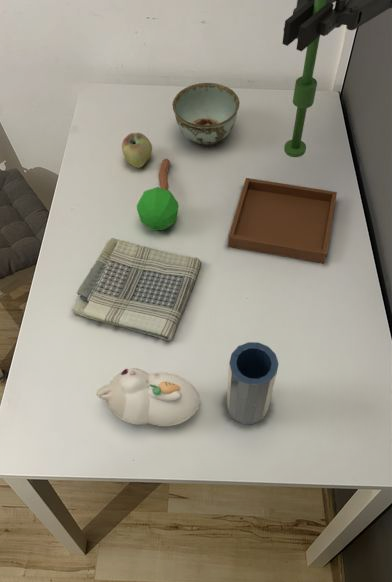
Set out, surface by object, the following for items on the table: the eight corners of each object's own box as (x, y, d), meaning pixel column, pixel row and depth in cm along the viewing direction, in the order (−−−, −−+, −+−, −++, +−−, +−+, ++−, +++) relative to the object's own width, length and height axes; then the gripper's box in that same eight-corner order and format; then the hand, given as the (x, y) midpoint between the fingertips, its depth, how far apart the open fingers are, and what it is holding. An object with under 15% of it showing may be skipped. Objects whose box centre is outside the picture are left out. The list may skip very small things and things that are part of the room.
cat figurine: (204, 378, 69) (95, 368, 68) (199, 436, 69) (89, 426, 68) (201, 372, 78) (104, 363, 77) (196, 423, 78) (100, 414, 78)
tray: (334, 201, 97) (337, 191, 95) (323, 263, 90) (326, 254, 87) (245, 187, 99) (245, 177, 97) (228, 246, 92) (228, 236, 90)
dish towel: (204, 263, 90) (203, 251, 88) (171, 345, 82) (170, 335, 79) (109, 241, 94) (106, 229, 91) (69, 318, 85) (64, 307, 83)
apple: (155, 147, 106) (152, 122, 101) (151, 173, 102) (148, 149, 97) (127, 146, 106) (123, 122, 101) (122, 172, 103) (117, 148, 97)
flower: (317, 151, 80) (374, -106, 52) (294, 166, 78) (339, -90, 50) (285, 128, 83) (323, -127, 55) (262, 142, 81) (288, -113, 53)
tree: (153, 181, 106) (141, 241, 93) (143, 147, 100) (129, 206, 88) (188, 176, 105) (181, 236, 92) (180, 141, 99) (172, 200, 86)
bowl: (187, 112, 112) (185, 77, 105) (245, 122, 109) (247, 88, 102) (166, 151, 105) (163, 118, 98) (227, 164, 103) (228, 130, 96)
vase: (271, 391, 78) (281, 347, 65) (263, 429, 75) (273, 389, 62) (232, 383, 78) (235, 337, 66) (223, 419, 75) (225, 379, 63)
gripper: (425, 3, 70) (338, 87, 61) (335, -27, 75) (243, 47, 66) (447, -62, 64) (353, 22, 55) (347, -90, 68) (246, -17, 60)
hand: (293, 36), depth 60 cm, fingers closed on flower
